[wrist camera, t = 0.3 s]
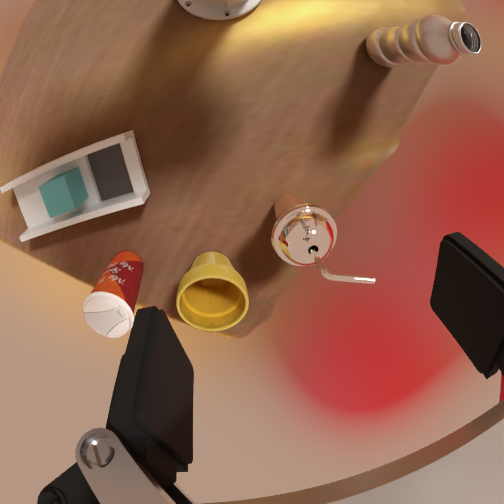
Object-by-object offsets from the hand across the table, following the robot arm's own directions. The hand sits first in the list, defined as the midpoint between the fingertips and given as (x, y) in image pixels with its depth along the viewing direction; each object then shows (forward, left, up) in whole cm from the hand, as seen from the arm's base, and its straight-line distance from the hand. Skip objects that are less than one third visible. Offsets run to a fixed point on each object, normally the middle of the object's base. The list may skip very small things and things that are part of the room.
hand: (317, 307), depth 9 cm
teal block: (0, -26, -34) cm, 43 cm away
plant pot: (+20, -8, -36) cm, 42 cm away
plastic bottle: (-12, +24, -36) cm, 44 cm away
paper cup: (+16, -22, -36) cm, 45 cm away
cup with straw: (+12, +6, -36) cm, 38 cm away
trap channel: (0, -26, -35) cm, 44 cm away
